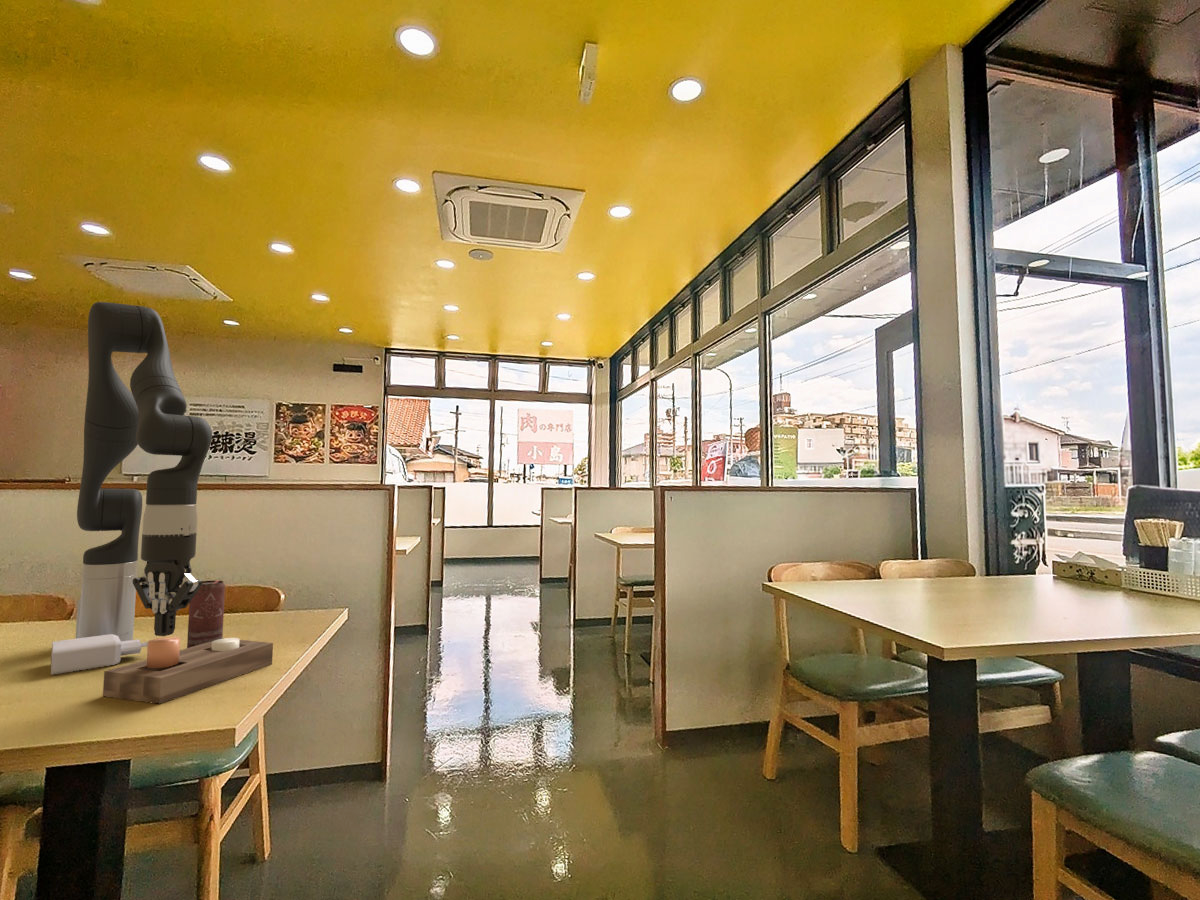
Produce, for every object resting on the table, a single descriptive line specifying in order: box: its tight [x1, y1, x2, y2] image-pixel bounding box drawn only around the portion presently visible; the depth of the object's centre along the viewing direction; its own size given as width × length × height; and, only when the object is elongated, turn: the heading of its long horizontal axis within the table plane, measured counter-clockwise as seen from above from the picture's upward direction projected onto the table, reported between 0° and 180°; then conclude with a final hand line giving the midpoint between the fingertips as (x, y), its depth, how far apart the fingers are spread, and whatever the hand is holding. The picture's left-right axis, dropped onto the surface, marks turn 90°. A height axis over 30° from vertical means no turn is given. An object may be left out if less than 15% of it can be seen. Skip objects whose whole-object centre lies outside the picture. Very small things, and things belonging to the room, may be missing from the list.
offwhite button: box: [211, 637, 241, 652], centre depth 110 cm, size 4×4×4 cm
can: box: [186, 579, 226, 648], centre depth 123 cm, size 6×6×14 cm
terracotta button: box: [146, 636, 181, 668], centre depth 99 cm, size 4×4×4 cm
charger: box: [50, 634, 148, 676], centre depth 114 cm, size 5×9×15 cm
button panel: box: [102, 637, 274, 705], centre depth 105 cm, size 12×22×4 cm, turn 165°
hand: (164, 635), depth 99 cm, fingers closed
